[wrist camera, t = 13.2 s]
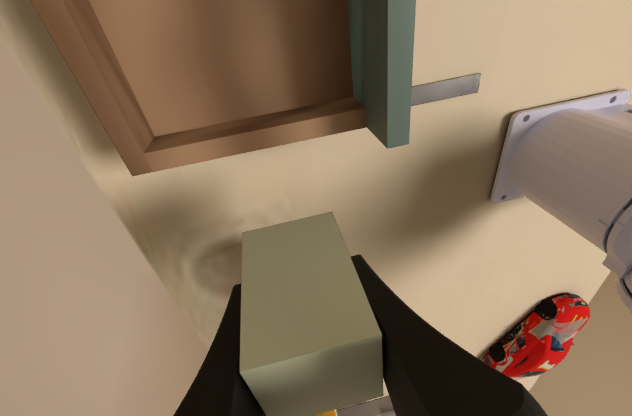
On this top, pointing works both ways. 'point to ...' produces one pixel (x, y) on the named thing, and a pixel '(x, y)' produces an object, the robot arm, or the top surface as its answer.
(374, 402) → the desk organiser
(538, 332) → the race car
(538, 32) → the top surface
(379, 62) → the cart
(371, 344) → the sage block
